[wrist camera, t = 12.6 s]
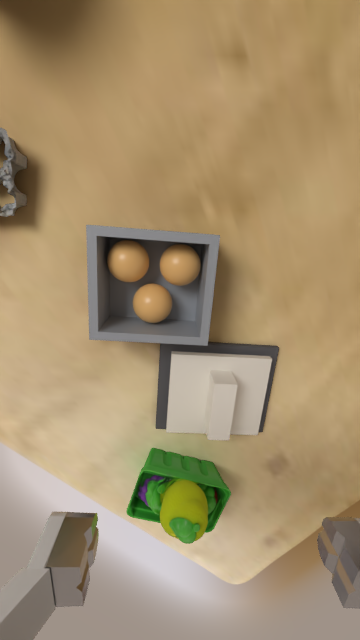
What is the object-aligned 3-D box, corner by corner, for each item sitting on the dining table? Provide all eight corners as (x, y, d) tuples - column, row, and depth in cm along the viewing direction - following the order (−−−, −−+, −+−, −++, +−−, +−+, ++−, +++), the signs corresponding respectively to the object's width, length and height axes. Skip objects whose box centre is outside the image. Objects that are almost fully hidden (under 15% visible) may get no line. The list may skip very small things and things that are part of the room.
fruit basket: (129, 480, 38) (114, 579, 27) (148, 430, 35) (139, 515, 24) (205, 497, 39) (220, 596, 28) (228, 449, 37) (253, 538, 26)
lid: (267, 353, 32) (283, 371, 27) (253, 426, 35) (266, 453, 30) (171, 348, 31) (171, 366, 27) (166, 423, 34) (166, 451, 30)
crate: (209, 235, 28) (220, 235, 22) (200, 325, 31) (207, 345, 25) (103, 227, 27) (86, 224, 22) (104, 320, 30) (89, 339, 25)
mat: (277, 345, 32) (278, 347, 32) (260, 429, 36) (262, 432, 35) (160, 339, 31) (160, 341, 31) (155, 425, 35) (155, 428, 34)
